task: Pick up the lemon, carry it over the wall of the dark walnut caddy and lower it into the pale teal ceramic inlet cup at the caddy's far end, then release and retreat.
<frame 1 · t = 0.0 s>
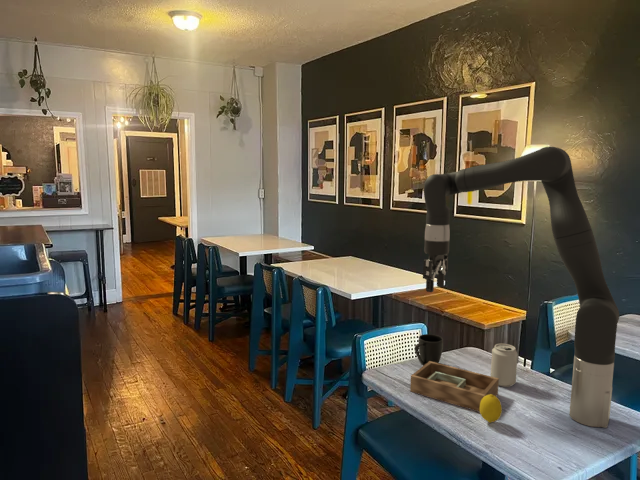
hand: (435, 289, 151), 29 cm above the table, fingers open, 8 cm apart
caddy: (453, 392, 144), on the table
mug: (426, 366, 164), on the table
lemon: (489, 423, 127), on the table
can: (502, 383, 151), on the table
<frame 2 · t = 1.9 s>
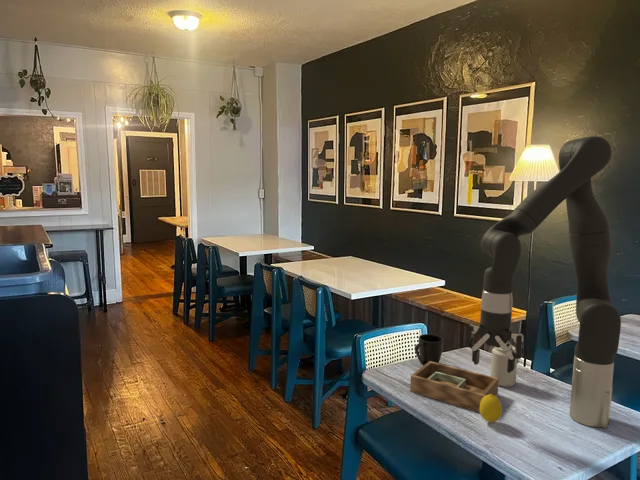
hand: (492, 367, 125), 15 cm above the table, fingers open, 8 cm apart
nothing on the table moved.
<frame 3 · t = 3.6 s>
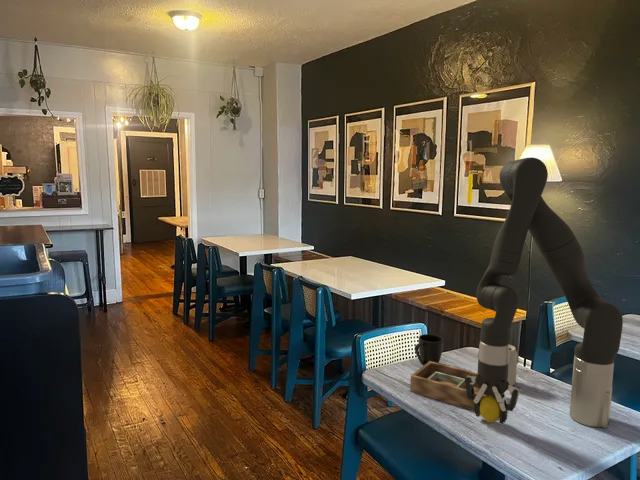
hand: (489, 418, 127), 1 cm above the table, fingers closed on lemon, 5 cm apart
lemon: (489, 423, 127), on the table, touching gripper
everything else where it was.
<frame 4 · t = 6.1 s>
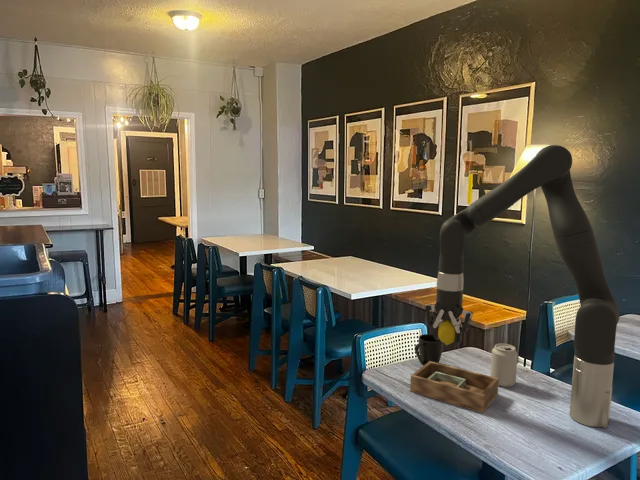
hand: (446, 341, 142), 16 cm above the table, fingers closed on lemon, 5 cm apart
lemon: (446, 345, 143), point 15 cm above the table, touching gripper
everything else where it was.
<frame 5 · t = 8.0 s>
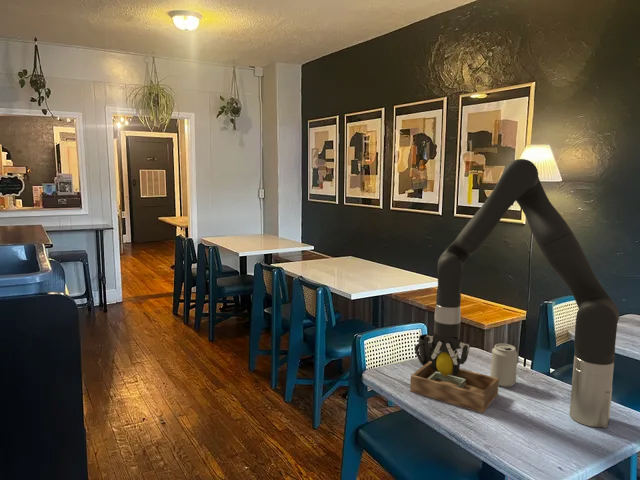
hand: (445, 372, 145), 6 cm above the table, fingers closed on lemon, 5 cm apart
lemon: (444, 376, 145), point 4 cm above the table, touching gripper
everything else where it was.
when the fingers open (4 cm above the table, at t = 8.8 s): lemon drops 2 cm, resting on caddy.
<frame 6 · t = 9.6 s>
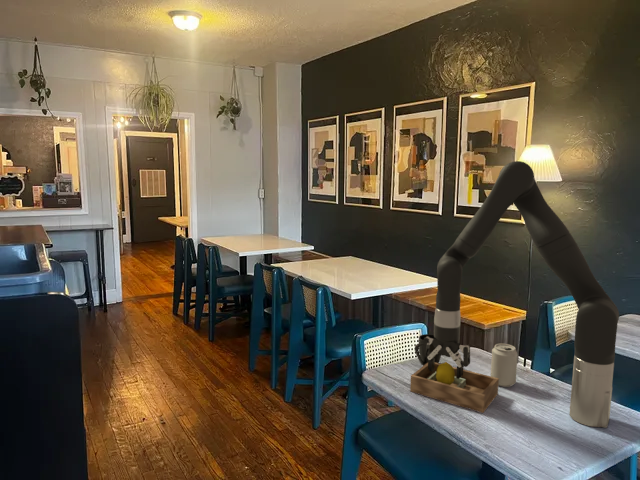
hand: (444, 374, 145), 5 cm above the table, fingers open, 8 cm apart
lemon: (444, 387, 145), point 1 cm above the table, touching caddy
everything else where it was.
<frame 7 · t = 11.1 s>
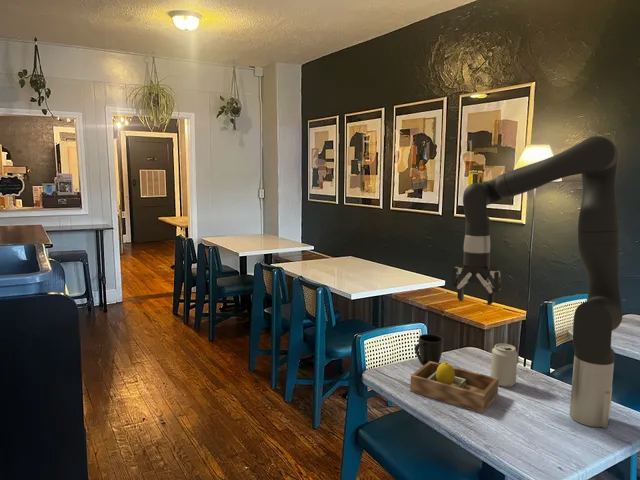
hand: (475, 302, 145), 27 cm above the table, fingers open, 8 cm apart
nothing on the table moved.
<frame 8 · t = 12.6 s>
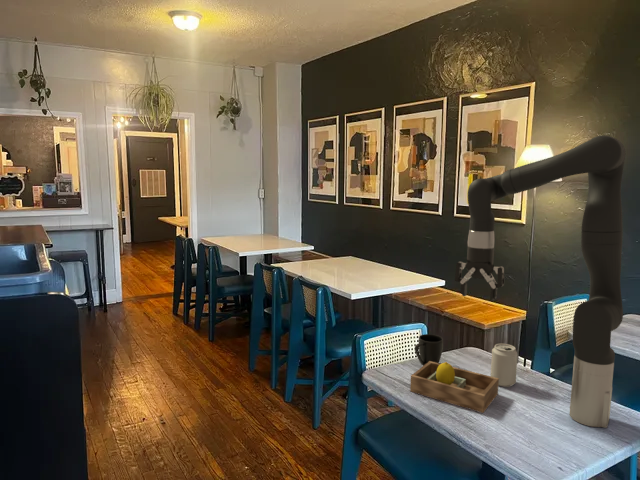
hand: (478, 297, 145), 28 cm above the table, fingers open, 8 cm apart
nothing on the table moved.
at the end: lemon inside the target area on the caddy (0.1 cm from its centre), point 0.8 cm above the caddy's base; the gripper is holding nothing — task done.
